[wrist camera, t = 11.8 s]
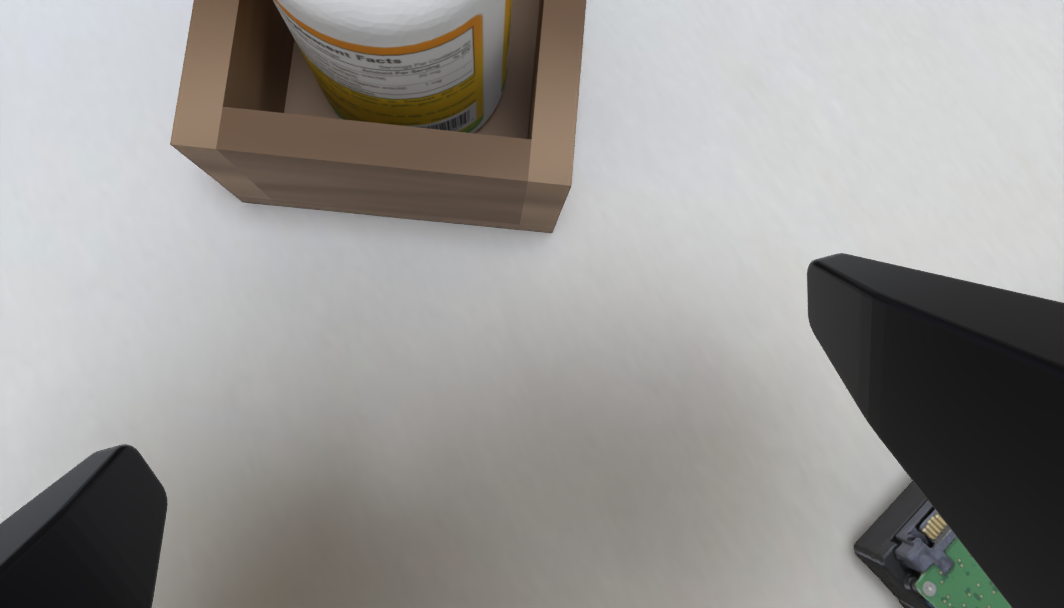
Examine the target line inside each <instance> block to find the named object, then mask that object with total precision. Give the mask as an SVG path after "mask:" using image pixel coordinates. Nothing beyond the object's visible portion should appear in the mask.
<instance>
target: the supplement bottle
mask: <svg viewBox="0 0 1064 608" xmlns="http://www.w3.org/2000/svg"><path fill="white" fill-rule="evenodd" d="M273 1H274V3H275V5H276V7H277V8H278V10H279V12H280V14H281V16H282V17H283V19H284V21H285V23H286V25H287V26H288V28H289V30H290V32H291V34H292V35H293V37H294V39H295V41H296V43H297V45H298V46H299V48H300V50H301V52H302V54H303V56H304V58H305V59H306V61H307V63H308V65H309V67H310V69H311V71H312V72H313V74H314V76H315V78H316V80H317V82H318V84H319V86H320V87H321V89H322V91H323V93H324V95H325V96H326V98H327V100H328V102H329V103H330V105H331V106H332V108H333V109H334V111H335V112H336V113H337V115H338V116H339V117H340V119H343V120H353V121H362V122H371V123H381V124H390V125H400V126H409V127H418V128H428V129H437V130H446V131H456V132H465V133H475V132H476V131H477V130H478V129H479V128H480V127H482V126H483V125H484V123H485V122H486V121H487V120H488V119H489V117H490V116H491V115H492V113H493V112H494V110H495V108H496V107H497V105H498V103H499V101H500V98H501V96H502V93H503V90H504V87H505V82H506V77H507V70H508V60H509V42H510V28H511V13H512V0H273Z"/></svg>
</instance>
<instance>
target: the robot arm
mask: <svg viewBox="0 0 1064 608" xmlns="http://www.w3.org/2000/svg"><path fill="white" fill-rule="evenodd" d="M807 291H808V318H809V323H810V326H811V328H812V331H813V333H814V335H815V336H816V338H817V340H818V341H819V343H820V345H821V346H822V348H823V350H824V351H825V353H826V355H827V356H828V358H829V360H830V361H831V363H832V364H833V366H834V368H835V369H836V371H837V373H838V374H839V376H840V378H841V379H842V381H843V383H844V384H845V386H846V388H847V389H848V391H849V393H850V394H851V396H852V398H853V399H854V401H855V403H856V404H857V406H858V408H859V409H860V411H861V412H862V414H863V415H864V417H865V418H866V420H867V422H868V423H869V424H870V426H871V427H872V428H873V430H874V431H875V432H876V434H877V435H878V437H879V438H880V439H881V440H882V442H883V443H884V444H885V446H886V447H887V448H888V449H889V451H890V452H891V453H892V455H893V456H894V457H895V458H896V460H897V461H898V462H899V464H900V465H901V466H902V467H903V469H904V470H905V471H906V472H907V474H908V475H909V476H910V478H911V479H912V480H913V481H914V483H915V484H916V485H917V487H918V488H919V489H920V490H921V492H922V493H923V494H924V496H925V497H926V498H927V499H928V501H929V502H930V503H931V505H932V506H933V507H934V508H935V510H936V511H937V512H938V514H939V515H940V516H941V517H942V519H943V520H944V521H945V523H946V524H947V525H948V526H949V528H950V529H951V530H952V532H953V533H954V534H955V535H956V537H957V538H958V539H959V541H960V542H961V543H962V544H963V546H964V547H965V548H966V550H967V551H968V552H969V553H970V555H971V556H972V557H973V559H974V560H975V561H976V562H977V564H978V565H979V566H980V568H981V569H982V570H983V571H984V573H985V574H986V575H987V576H988V578H989V579H990V580H991V582H992V583H993V584H994V585H995V587H996V588H997V589H998V591H999V592H1000V593H1001V594H1002V596H1003V597H1004V598H1005V600H1006V601H1007V602H1008V603H1009V605H1010V606H1011V607H1012V608H1064V303H1062V302H1057V301H1053V300H1048V299H1044V298H1040V297H1035V296H1031V295H1026V294H1022V293H1017V292H1013V291H1008V290H1004V289H1000V288H995V287H991V286H986V285H982V284H977V283H973V282H968V281H964V280H960V279H955V278H951V277H946V276H942V275H937V274H933V273H929V272H924V271H920V270H915V269H911V268H906V267H902V266H897V265H893V264H889V263H884V262H880V261H875V260H871V259H866V258H862V257H857V256H853V255H849V254H844V253H840V254H834V255H831V256H827V257H823V258H820V259H816V260H813V261H812V262H811V263H810V264H809V266H808V270H807ZM166 512H167V496H166V492H165V490H164V488H163V486H162V484H161V483H160V481H159V480H158V479H157V477H156V476H155V474H154V473H153V471H152V470H151V469H150V467H149V466H148V464H147V463H146V461H145V460H144V459H143V457H142V456H141V454H140V453H139V452H138V451H137V449H135V448H134V447H133V446H130V445H126V444H125V445H119V446H115V447H112V448H108V449H104V450H100V451H97V452H95V453H93V454H92V455H90V456H89V457H88V458H86V459H85V460H84V461H82V462H81V463H80V464H78V465H77V466H76V467H74V468H73V469H72V470H70V471H69V472H68V473H67V474H65V475H64V476H63V477H61V478H60V479H59V480H57V481H56V482H55V483H53V484H52V485H51V486H49V487H48V488H47V489H45V490H44V491H43V492H42V493H40V494H39V495H38V496H36V497H35V498H34V499H32V500H31V501H30V502H28V503H27V504H26V505H24V506H23V507H22V508H20V509H19V510H18V511H17V512H15V513H14V514H13V515H11V516H10V517H9V518H7V519H6V520H5V521H3V522H2V523H1V524H0V608H151V607H152V602H153V597H154V590H155V584H156V577H157V571H158V564H159V558H160V551H161V545H162V538H163V532H164V525H165V519H166Z"/></svg>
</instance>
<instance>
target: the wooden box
mask: <svg viewBox="0 0 1064 608" xmlns="http://www.w3.org/2000/svg"><path fill="white" fill-rule="evenodd" d="M585 9H586V0H512V13H511V28H510V42H509V60H508V70H507V77H506V82H505V87H504V90H503V93H502V96H501V98H500V101H499V103H498V105H497V107H496V108H495V110H494V112H493V113H492V115H491V116H490V117H489V119H488V120H487V121H486V122H485V123H484V125H483V126H482V127H480V128H479V129H478V130H477V131H476V132H475V133H465V132H456V131H446V130H437V129H428V128H418V127H409V126H400V125H390V124H381V123H371V122H362V121H353V120H343V119H340V117H339V116H338V115H337V113H336V112H335V111H334V109H333V108H332V106H331V105H330V103H329V102H328V100H327V98H326V96H325V95H324V93H323V91H322V89H321V87H320V86H319V84H318V82H317V80H316V78H315V76H314V74H313V72H312V71H311V69H310V67H309V65H308V63H307V61H306V59H305V58H304V56H303V54H302V52H301V50H300V48H299V46H298V45H297V43H296V41H295V39H294V37H293V35H292V34H291V32H290V30H289V28H288V26H287V25H286V23H285V21H284V19H283V17H282V16H281V14H280V12H279V10H278V8H277V7H276V5H275V3H274V1H273V0H194V3H193V9H192V15H191V21H190V27H189V33H188V39H187V46H186V52H185V58H184V64H183V70H182V76H181V82H180V88H179V94H178V100H177V106H176V112H175V118H174V124H173V130H172V136H171V142H170V145H172V146H173V147H174V148H175V149H177V150H178V151H179V152H180V153H182V154H183V155H184V156H186V157H187V158H188V159H189V160H191V161H192V162H193V163H194V164H196V165H197V166H198V167H199V168H201V169H202V170H203V171H204V172H206V173H207V174H208V175H209V176H211V177H212V178H213V179H215V180H216V181H217V182H218V183H220V184H221V185H222V186H223V187H225V188H226V189H227V190H228V191H230V192H231V193H232V194H233V195H235V196H236V197H237V198H238V199H240V200H241V201H242V202H247V203H257V204H267V205H277V206H287V207H297V208H307V209H317V210H327V211H337V212H347V213H357V214H367V215H377V216H387V217H397V218H407V219H418V220H428V221H438V222H448V223H458V224H468V225H478V226H488V227H498V228H508V229H518V230H528V231H538V232H548V233H552V232H553V230H554V227H555V225H556V222H557V220H558V217H559V215H560V212H561V210H562V208H563V205H564V203H565V200H566V198H567V195H568V193H569V190H570V188H571V183H572V171H573V158H574V146H575V133H576V121H577V108H578V96H579V83H580V71H581V59H582V46H583V34H584V21H585Z"/></svg>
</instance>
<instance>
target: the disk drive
mask: <svg viewBox="0 0 1064 608" xmlns="http://www.w3.org/2000/svg"><path fill="white" fill-rule="evenodd" d="M854 550H855V553H856V554H857V556H858V557H859V558H860V559H862V561H863V562H864V563H865V564H866V565H867V566H868V567H869V568H870V569H871V570H872V571H873V573H874V574H875V575H877V576H878V577H879V578H880V579H881V581H882V582H883V583H884V584H885V585H886V587H888V589H889V590H891V591H892V593H893V594H894V595H895V596H897V598H898V599H899V601H900V603H901V605H902V606H903V607H904V608H1012V607H1011V606H1010V605H1009V603H1008V602H1007V601H1006V600H1005V598H1004V597H1003V596H1002V594H1001V593H1000V592H999V591H998V589H997V588H996V587H995V585H994V584H993V583H992V582H991V580H990V579H989V578H988V576H987V575H986V574H985V573H984V571H983V570H982V569H981V568H980V566H979V565H978V564H977V562H976V561H975V560H974V559H973V557H972V556H971V555H970V553H969V552H968V551H967V550H966V548H965V547H964V546H963V544H962V543H961V542H960V541H959V539H958V538H957V537H956V535H955V534H954V533H953V532H952V530H951V529H950V528H949V526H948V525H947V524H946V523H945V521H944V520H943V519H942V517H941V516H940V515H939V514H938V512H937V511H936V510H935V508H934V507H933V506H932V505H931V503H930V502H929V501H928V499H927V498H926V497H925V496H924V494H923V493H922V492H921V490H920V489H919V488H918V487H917V485H916V484H915V483H914V481H912V482H911V483H910V485H909V486H908V487H907V488H906V489H905V490H904V491H903V492H902V493H901V494H900V495H899V497H898V498H897V499H896V500H895V501H894V502H893V503H892V505H891V506H889V508H888V509H887V510H886V511H885V512H884V513H883V514H882V515H881V516H880V517H879V518H878V519H877V521H876V522H875V523H874V524H873V525H872V526H871V527H870V528H869V529H868V531H867V532H866V533H865V534H864V535H863V536H862V537H861V538H860V539H859V540H858V541H857V542H856V544H855V545H854Z"/></svg>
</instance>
